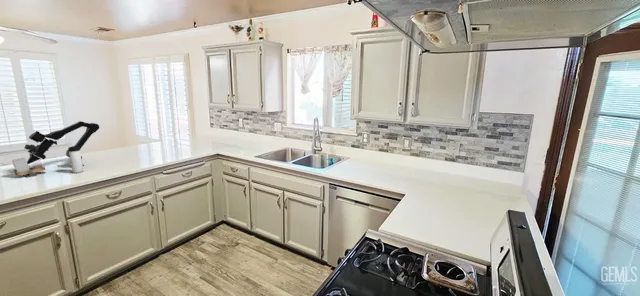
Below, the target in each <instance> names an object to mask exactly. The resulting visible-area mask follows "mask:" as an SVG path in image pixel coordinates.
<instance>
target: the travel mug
mask: <svg viewBox="0 0 640 296" xmlns="http://www.w3.org/2000/svg"><path fill="white" fill-rule="evenodd" d="M67 150H69V156H70V157H69V160H70V167H71V166H72V167H71V170H72V174H82V173H83V172H84V167H83V165H84V164H83V160H81V156H82V155H81V149H79V146H75V145H74V146H73V145H72V146H70V147H68V148H67ZM82 164H83V165H82Z"/></svg>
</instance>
